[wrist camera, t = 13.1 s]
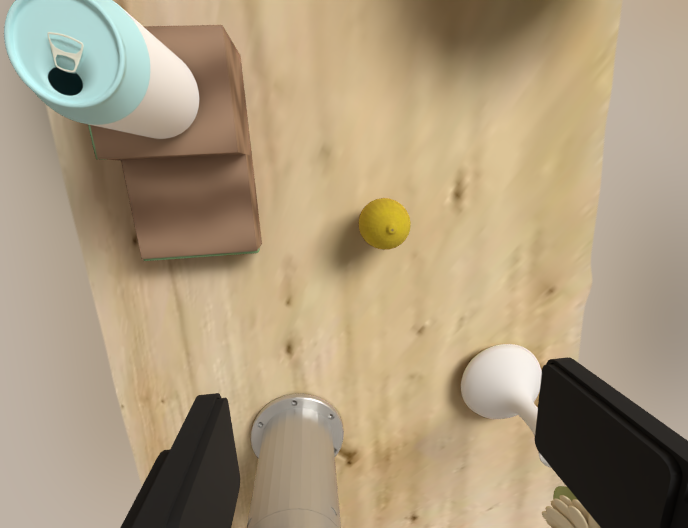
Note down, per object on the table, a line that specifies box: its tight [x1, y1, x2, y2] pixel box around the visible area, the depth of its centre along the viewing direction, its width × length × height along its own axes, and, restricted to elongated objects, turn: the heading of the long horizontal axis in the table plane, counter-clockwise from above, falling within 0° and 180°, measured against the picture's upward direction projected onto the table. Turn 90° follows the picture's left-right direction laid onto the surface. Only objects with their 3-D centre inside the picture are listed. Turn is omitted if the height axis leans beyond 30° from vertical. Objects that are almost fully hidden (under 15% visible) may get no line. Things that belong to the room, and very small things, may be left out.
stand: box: [88, 25, 262, 261], centre depth 35 cm, size 20×12×8 cm, turn 3°
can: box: [4, 0, 199, 139], centre depth 24 cm, size 7×7×12 cm
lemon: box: [359, 198, 410, 250], centre depth 39 cm, size 6×6×8 cm
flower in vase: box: [461, 344, 601, 528], centre depth 38 cm, size 13×11×25 cm
